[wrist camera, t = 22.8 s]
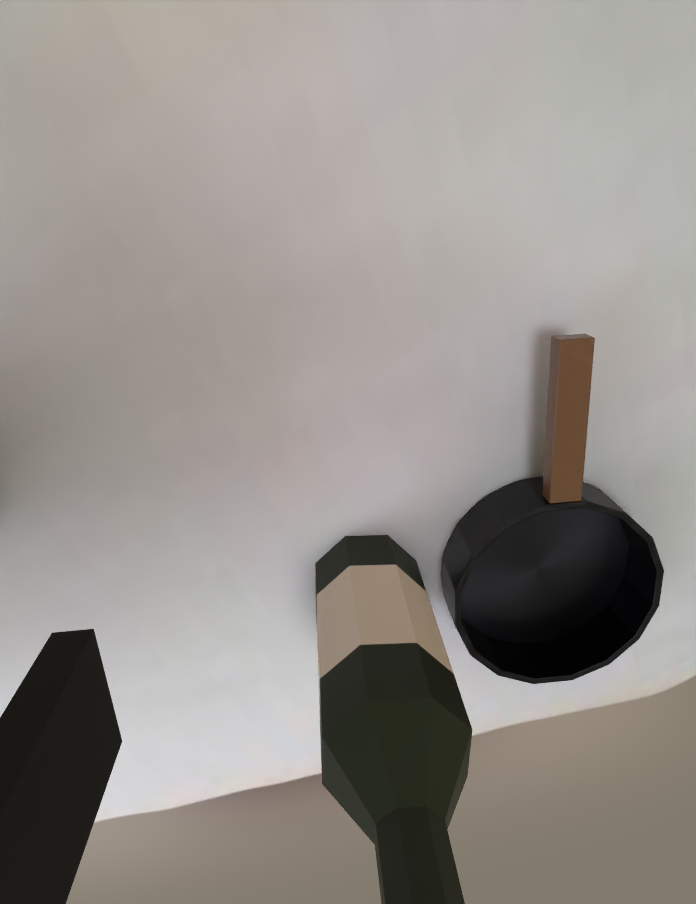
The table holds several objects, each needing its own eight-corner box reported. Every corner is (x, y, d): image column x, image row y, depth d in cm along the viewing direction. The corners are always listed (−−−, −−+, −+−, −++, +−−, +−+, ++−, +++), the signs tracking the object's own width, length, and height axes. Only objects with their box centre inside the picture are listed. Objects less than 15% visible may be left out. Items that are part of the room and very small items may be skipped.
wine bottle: (433, 602, 48) (613, 1129, 20) (336, 639, 49) (380, 1200, 21) (397, 516, 45) (550, 993, 17) (294, 556, 46) (281, 1080, 18)
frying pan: (620, 634, 51) (649, 672, 46) (441, 651, 50) (454, 692, 46) (657, 318, 41) (698, 329, 37) (439, 335, 41) (455, 348, 36)
